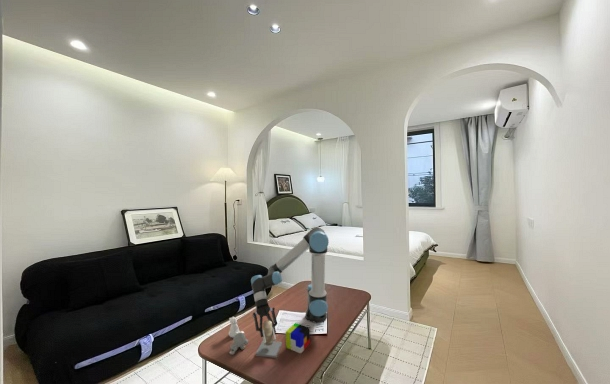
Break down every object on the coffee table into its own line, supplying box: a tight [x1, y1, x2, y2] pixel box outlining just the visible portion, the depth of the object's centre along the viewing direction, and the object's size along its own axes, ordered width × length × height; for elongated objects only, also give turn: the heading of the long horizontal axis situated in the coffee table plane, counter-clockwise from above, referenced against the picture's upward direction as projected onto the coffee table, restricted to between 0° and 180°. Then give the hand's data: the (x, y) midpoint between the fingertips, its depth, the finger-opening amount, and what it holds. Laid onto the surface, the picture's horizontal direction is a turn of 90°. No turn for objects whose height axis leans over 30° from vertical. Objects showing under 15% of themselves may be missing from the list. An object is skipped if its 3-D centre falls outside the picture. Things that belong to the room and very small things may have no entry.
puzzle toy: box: [285, 322, 311, 354], centre depth 153 cm, size 10×10×10 cm
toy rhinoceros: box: [229, 332, 249, 356], centre depth 151 cm, size 7×12×8 cm, turn 146°
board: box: [254, 339, 283, 359], centre depth 151 cm, size 12×12×1 cm
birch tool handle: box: [262, 320, 274, 346], centre depth 150 cm, size 5×5×12 cm
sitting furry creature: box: [228, 316, 245, 339], centre depth 165 cm, size 10×9×12 cm
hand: (270, 341), depth 147 cm, fingers closed on birch tool handle, 5 cm apart
